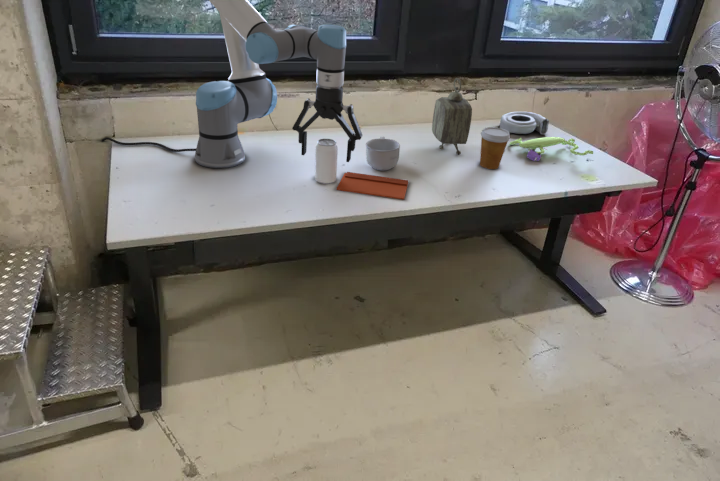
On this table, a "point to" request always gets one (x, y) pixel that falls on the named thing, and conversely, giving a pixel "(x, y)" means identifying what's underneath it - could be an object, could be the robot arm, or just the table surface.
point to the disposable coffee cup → (493, 146)
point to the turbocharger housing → (524, 122)
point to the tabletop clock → (452, 119)
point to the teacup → (382, 153)
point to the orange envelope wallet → (373, 185)
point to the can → (326, 161)
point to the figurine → (546, 142)
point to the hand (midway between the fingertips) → (326, 157)
